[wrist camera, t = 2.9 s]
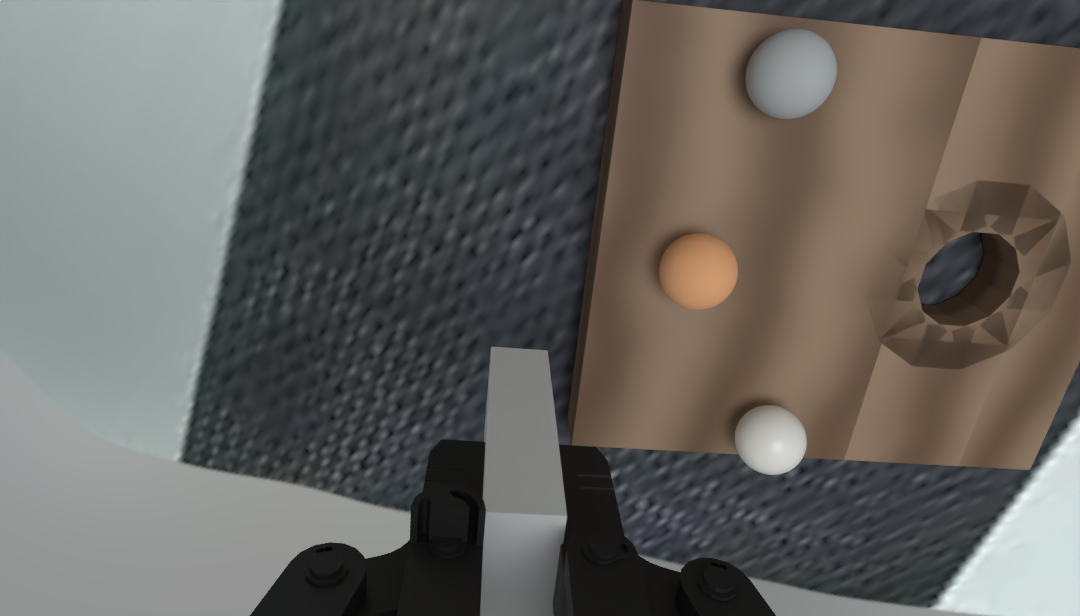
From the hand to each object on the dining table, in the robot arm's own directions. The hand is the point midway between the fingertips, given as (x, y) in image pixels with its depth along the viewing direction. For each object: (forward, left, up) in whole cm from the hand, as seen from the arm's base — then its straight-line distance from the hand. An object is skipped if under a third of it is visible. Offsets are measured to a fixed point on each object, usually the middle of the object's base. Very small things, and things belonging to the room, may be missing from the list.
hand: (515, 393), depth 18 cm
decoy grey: (+10, +8, -11) cm, 17 cm away
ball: (+8, 0, -11) cm, 13 cm away
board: (+16, 0, -15) cm, 22 cm away
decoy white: (+13, -8, -11) cm, 18 cm away
